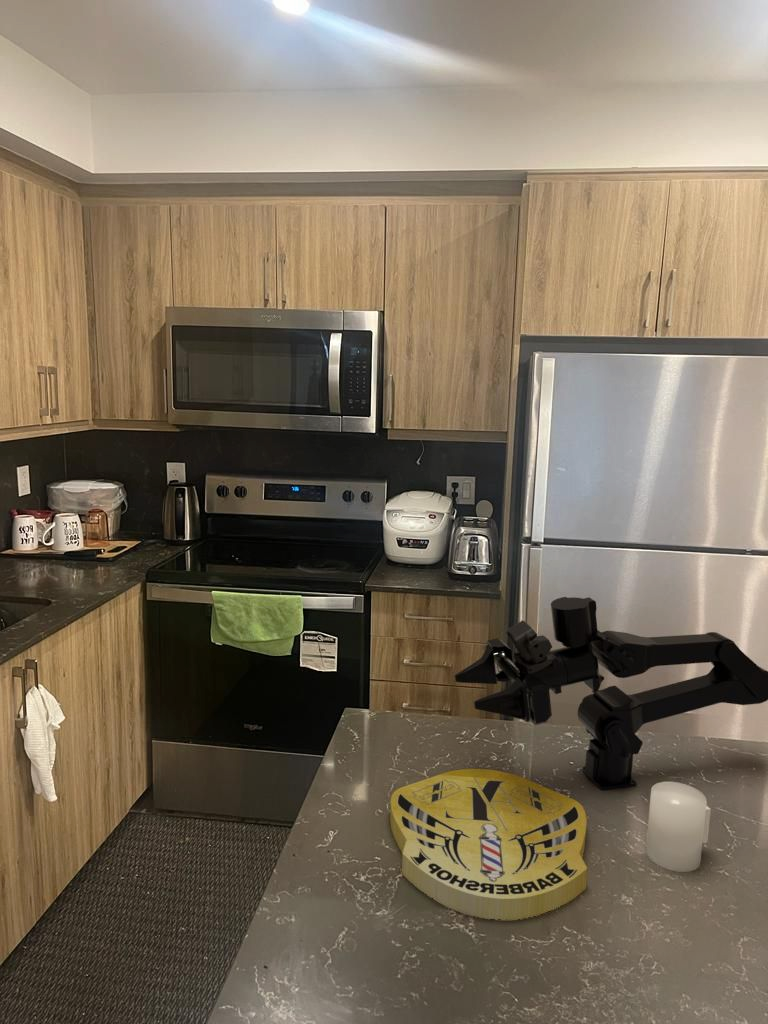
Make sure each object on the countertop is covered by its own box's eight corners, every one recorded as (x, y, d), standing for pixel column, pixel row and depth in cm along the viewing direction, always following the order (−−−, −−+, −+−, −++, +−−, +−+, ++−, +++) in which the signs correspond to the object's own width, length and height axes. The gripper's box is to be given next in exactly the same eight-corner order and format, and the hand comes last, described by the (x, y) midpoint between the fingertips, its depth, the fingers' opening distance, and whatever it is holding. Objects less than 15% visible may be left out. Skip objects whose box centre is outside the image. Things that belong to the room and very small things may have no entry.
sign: (376, 888, 90) (396, 763, 120) (375, 912, 91) (396, 782, 120) (612, 908, 88) (574, 775, 117) (610, 932, 88) (573, 794, 118)
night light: (685, 836, 107) (691, 778, 105) (718, 867, 100) (724, 805, 99) (635, 843, 105) (640, 784, 103) (665, 875, 98) (671, 813, 97)
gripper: (529, 600, 123) (439, 621, 121) (583, 643, 105) (478, 668, 103) (536, 661, 126) (448, 683, 123) (589, 713, 108) (488, 740, 105)
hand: (464, 691), depth 114 cm, fingers open, 9 cm apart
